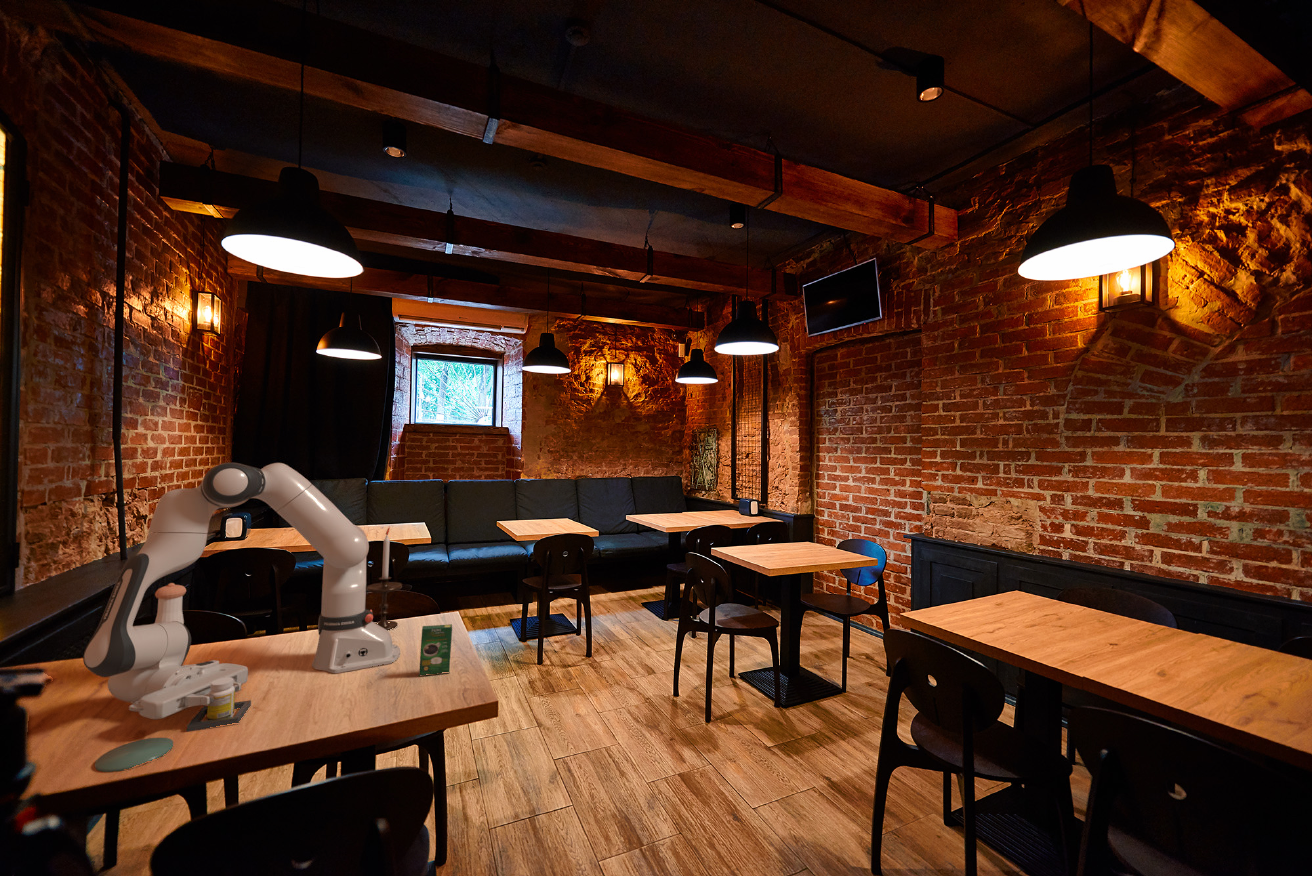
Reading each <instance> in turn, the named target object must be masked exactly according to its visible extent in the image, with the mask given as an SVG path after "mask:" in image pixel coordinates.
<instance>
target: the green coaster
mask: <svg viewBox="0 0 1312 876" xmlns="http://www.w3.org/2000/svg"><path fill="white" fill-rule="evenodd" d="M172 747H173V748H174V740H172V739H171V738H169V737H161V736H160V737H150V738H143V739H139V740H135V741H132V742H127V743H124V744H123V745H119V746H117V747H115V748H113V749H111V750H108V751H107V752H106V751H105V753H103V754H101V755H100V756H99V757H98V758H97V759H96V761H95V764H94V768H95V770H97V771H99V772H103V773H114V771H116V772H122V771H125V770H124V769H128V770H130V769H129V768H132V767H134V766H136V765H140V764H142V763H145V762H147V761H152V760H153V759H157V758H159V757H161V756H162V757H164V756H165V755H164V754H166V753H167V752H168V751H169V750H170V751H172V749H173V748H172ZM170 751H169V752H170ZM169 752H168V753H169ZM168 753H167V754H168ZM167 754H166V755H167ZM163 755H164V756H163ZM162 757H161V758H162ZM159 759H160V758H159ZM157 760H158V759H157ZM132 769H133V768H132Z"/></svg>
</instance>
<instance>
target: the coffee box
mask: <svg viewBox="0 0 1312 876" xmlns="http://www.w3.org/2000/svg"><path fill="white" fill-rule="evenodd" d="M452 638H453V625H452V624H449V623H448V624H438V625H437V624H436V625H435V624H434V625H423V626H422V629H421V639H420V656H419V671H418V676H419V677H421V676H420V675H426V674H437V673H442V672H449V673H450V671H451V667H450V665H451V654H452ZM437 675H438V674H437Z"/></svg>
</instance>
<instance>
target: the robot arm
mask: <svg viewBox="0 0 1312 876" xmlns="http://www.w3.org/2000/svg"><path fill="white" fill-rule="evenodd" d="M202 478H203V479H202V481H201V483H200V484H199V485H198V486H196V487H193V488H187V487H186V488H184V487H183V488H177V489H176V488H175V489H172V490H169V491H166V492H165V493H164V494H162V495H161V497H160V498H159V500H158V503H157V505H156V507H155V510H154V512H153V515H152V518H151V521H150V525H149V527H148V528H149V529H148V532H147V533H148V534H147V538H146V540H145V541H144V543H143V544H144V545H143V546H142V547H141V549H140V550H139V551H138V552H137V554H136V555H134V556H131V557H130V558H128V559H127V561H126V562H125V564H124V565H123V567H122V569H121V571H120V573H119V575H118V577H117V580H116V582H115V584H114V587H113V589H112V592H111V594H110V597H109V599H108V602H107V605H106V607H105V608H104V611H103V614H102V616H101V619H100V621H99V624H98V626H97V628H96V630H95V631H94V633H93V635H92V637H91V638H90V640H89V641H88V643H87V645H86V647H85V649H84V653H83V656H82V657H83V658H82V660H83V662H82V663H83V664H84V666H85V668H87V670H88V671H89V672H91V673H92V674H94V675H96V676H99V677H101V678H108V681H107V690H108V691H109V693H110V694H111V695H112V696H113V697H114V698H116V699H117V700H120V701H123V702H126V703H130V704H131V705H129V706H128V710H129V711H131V712H138V713H139V715H140V716H141V717H144V718H147V719H151V720H160V719H165V718H167V717H169V716H171V715H173V714H176V713H179V712H180V711H183V710H186V709H189V708H190V707H196V706H208V704H210V703H213V702H214V695H212V694H211V695H210V694H208V693H209V692H210V691H211V690H210V686H211V682H212V681H214V680H217V679H220V678H226V677H230V678H233V686H234V688H235V693H237V692H240V691H241V690H242V685H243V684H246V683H247V682H248V678H249V669H248V667H247V666H246V665H241V664H236V663H228V662H227V663H225V662H224V663H222V662H221V663H220V660H215V659H214V660H209V661H207V660H206V661H204V662H199V663H193V664H184V663H185V660H186V658H187V657H188V654H189V652H190V649H191V644H192V636H191V633H190V630H189V629H188V627H187V626H186V625H185V624H182V623H180V622H178V621H172V622H163V623H155V622H154V623H150V624H141V625H134V621H135V620H136V619H135V618H136V616H137V614H138V611H139V609H140V606H141V604H142V601H143V598H144V596H145V593H146V591H147V590H148V588H150V587H151V585H152V584H153V583H155V582H156V581H158V580H160V579H161V578H163V577H165V576H168V575H171V574H173V573H175V572H178V571H180V570H183V569H185V568H187V567H189V566H190V565H192V564H194V563H195V562H196V561H197V560H198V559H199V558H200V557H201V556H202V554H203V553H204V550H205V548H206V545H207V540H208V533H209V527H210V522H211V519H212V516H213V514H214V513H215V512H216V511H221V510H225V509H226V510H227V509H230V508H231V509H232V508H235V507H238V506H240V505H242V504H244V503H246V502H247V501H248V500H249V499H258V500H260V501H262V502H264V503H266V504H267V505H268V506H269V507H271V509H273V510H274V512H276V513H277V514H278V515H279V516H281V518H282V519H284V520H285V521H286V522H287V523H288V524H289V525H290V526H291V527H292V528H293V529H295V530H296V531H297V532H298V533H299V534H300V535H301V536H302V537H303V538H304V540H306V541H307V542H308V544H309V545H310V546H311V547H313V549H314V550H315V551H316V552H317V553H319V555H321V557H323V571H322V585H321V590H322V592H321V612H320V614H319V615H318V616H319V617H318V624H317V625H318V629H317V631H318V636H319V637H318V642H317V647H316V652H315V655H314V657H313V661H312V664H311V666H312V668H313V669H315V670H319V671H325V672H329V673H331V674H339V673H345V672H350V671H356V670H363V669H368V668H373V667H377V666H378V665H379V666H383V665H382V664H384V665H389V664H392V662H393V663H394V662H396V661H397V660H398V659H399V658H400V656H399V655H401V648H400V647H399V645H396V644H393V639H392V636H391V633H390V630H389V631H388V630H386V629H384V628H382V627H381V626H379V625H377V624H376V622H374V621H373V619H374V615H373V610H372V609H370V610H369V609H368V608H366V596H367V594H366V593H367V556H368V553H369V551H370V550H369V548H370V545H369V541H368V537H367V534H366V533H365V531H364V530H363V529H362V528H361V527H360V526H359V525H355V524H354V523H353V522H351V521H350V520H349V519H348V517H347V516H345V515H344V514H343V513H342V512H341V510H340V509H339V508H338V507H337V506H336V505H335V504H334V503H333V502H332V501H331V500H329V498H328V497H326V496H325V494H323V493H322V492H321V491H320V490H319V488H317V487H316V486H315V485H314V484H312V483H311V481H309V480H308V479H307V478H305V477H304V476H303V475H302V474H301V473H299V472H298V471H297V470H295V469H293V468H292V467H290V466H289V465H288V464H285V463H282V462H274V463H270V464H268V465H267V464H266V465H265V466H263V468H261V469H260V468H258V467H254V466H251V465H246V464H243V463H238V462H224V463H220V464H218V465H214V466H213V467H212V468H210V469H209V470H208V471H207V472H206V473H205V475H204V477H202ZM398 657H399V658H398ZM397 658H398V659H397ZM395 660H396V661H395ZM372 666H373V667H372ZM379 666H378V667H379Z"/></svg>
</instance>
